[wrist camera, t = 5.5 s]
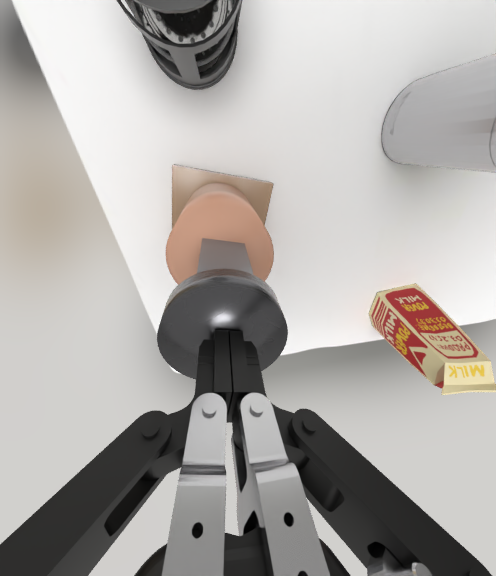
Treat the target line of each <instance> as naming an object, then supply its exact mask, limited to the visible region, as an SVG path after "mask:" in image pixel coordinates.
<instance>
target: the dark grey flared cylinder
mask: <svg viewBox="0 0 496 576" xmlns="http://www.w3.org/2000/svg"><path fill="white" fill-rule="evenodd" d="M125 1H126V3H127V4H128V6H129V8H130V9H131V11H132V12H133V14H134V17H135V18H134V17H133V16H132V15H131V13H130V12H129V11H128V10H127V9H126V8H125V6H124V5H123V3H122V2H121V0H117V2H118V3H119V4H120V6H121V7H122V9H123V10H124V12H125V13H126V15H127V16H128V18H129V19H130V20H131V22H132V23H133V24H134V25H135V26H136V27H137V28H138V29H139V30H140V31H141V33H142V35H143V37H144V39H145V41H146V43H147V45H148V48H149V50H150V52H151V54H152V56H153V58H154V59H155V61H156V62H157V64H158V65H159V67H160V68H161V69H162V70H163V72H164V73H165V74H166V75H167V76H168V77H169V78H170V79H172V80H173V81H175V82H176V83H177V84H179V85H181V86H183V87H186V88H190V89H194V90H195V89H205V88H208V87H211V86H213V85H214V84H216V83H218V82H219V81H220V80H221V79H222V78H223V77H224V75H225V74H226V72H227V71H228V69H229V68H230V65H231V63H232V61H233V58H234V54H235V50H236V46H237V34H238V30H237V27H238V21H239V15H240V10H241V4H242V0H125ZM220 53H221V54H220ZM219 54H220V56H219V58H218V60H217V61H216V63H215V64H214V65H213V66H212V67H211V68H209V69H208V70H206V71H203V72H200V73H199V71H198V66H201V65H204V64H207V63H209V62H210V61H212V60H213V59H215V58H216V57H217V56H218V55H219ZM173 62H174V63H175V64H176V65H175V64H174V63H173Z"/></svg>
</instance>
